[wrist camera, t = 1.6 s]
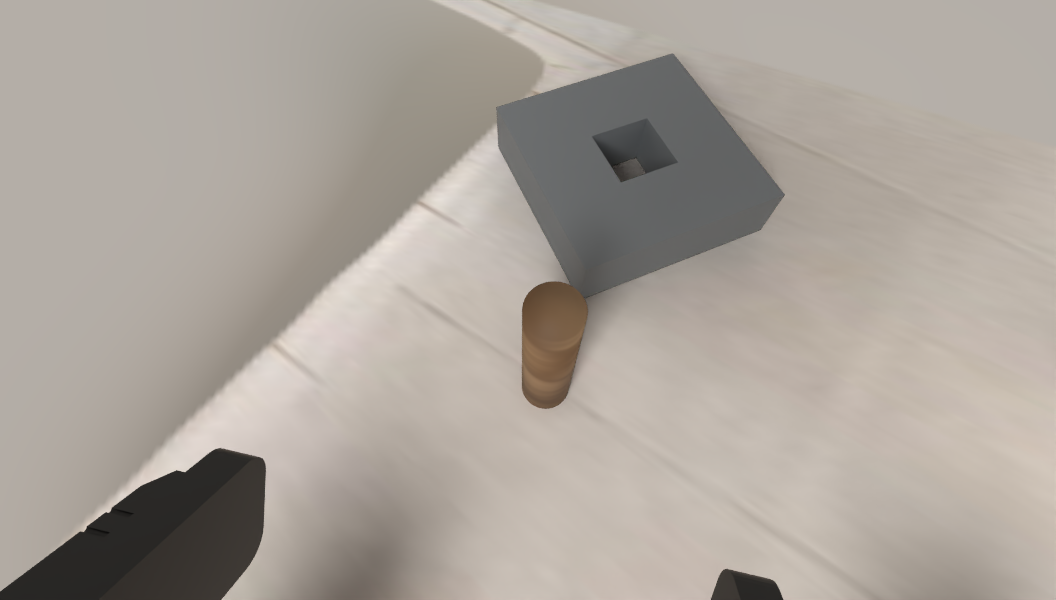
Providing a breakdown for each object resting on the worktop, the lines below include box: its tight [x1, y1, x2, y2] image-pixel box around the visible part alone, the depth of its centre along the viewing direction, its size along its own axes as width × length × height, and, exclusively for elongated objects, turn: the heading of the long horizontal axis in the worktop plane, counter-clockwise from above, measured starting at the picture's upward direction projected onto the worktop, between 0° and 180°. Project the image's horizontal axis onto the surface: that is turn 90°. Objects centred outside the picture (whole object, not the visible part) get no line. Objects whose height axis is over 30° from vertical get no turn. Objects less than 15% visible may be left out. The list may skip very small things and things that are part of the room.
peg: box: [522, 282, 588, 409], centre depth 32 cm, size 3×3×12 cm
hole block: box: [496, 54, 785, 298], centre depth 43 cm, size 16×16×4 cm
